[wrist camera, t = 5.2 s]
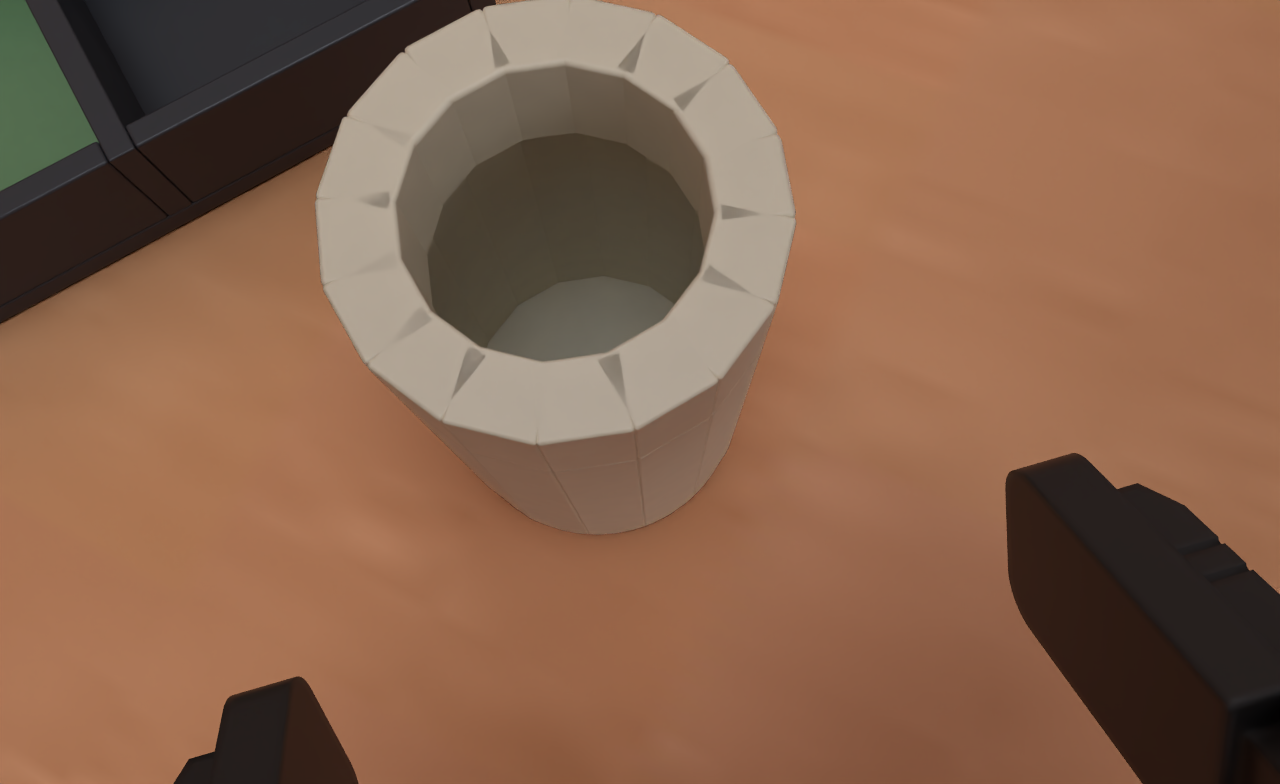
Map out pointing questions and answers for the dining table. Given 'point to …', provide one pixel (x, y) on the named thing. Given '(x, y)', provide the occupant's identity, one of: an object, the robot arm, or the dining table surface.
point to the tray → (168, 114)
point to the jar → (562, 252)
